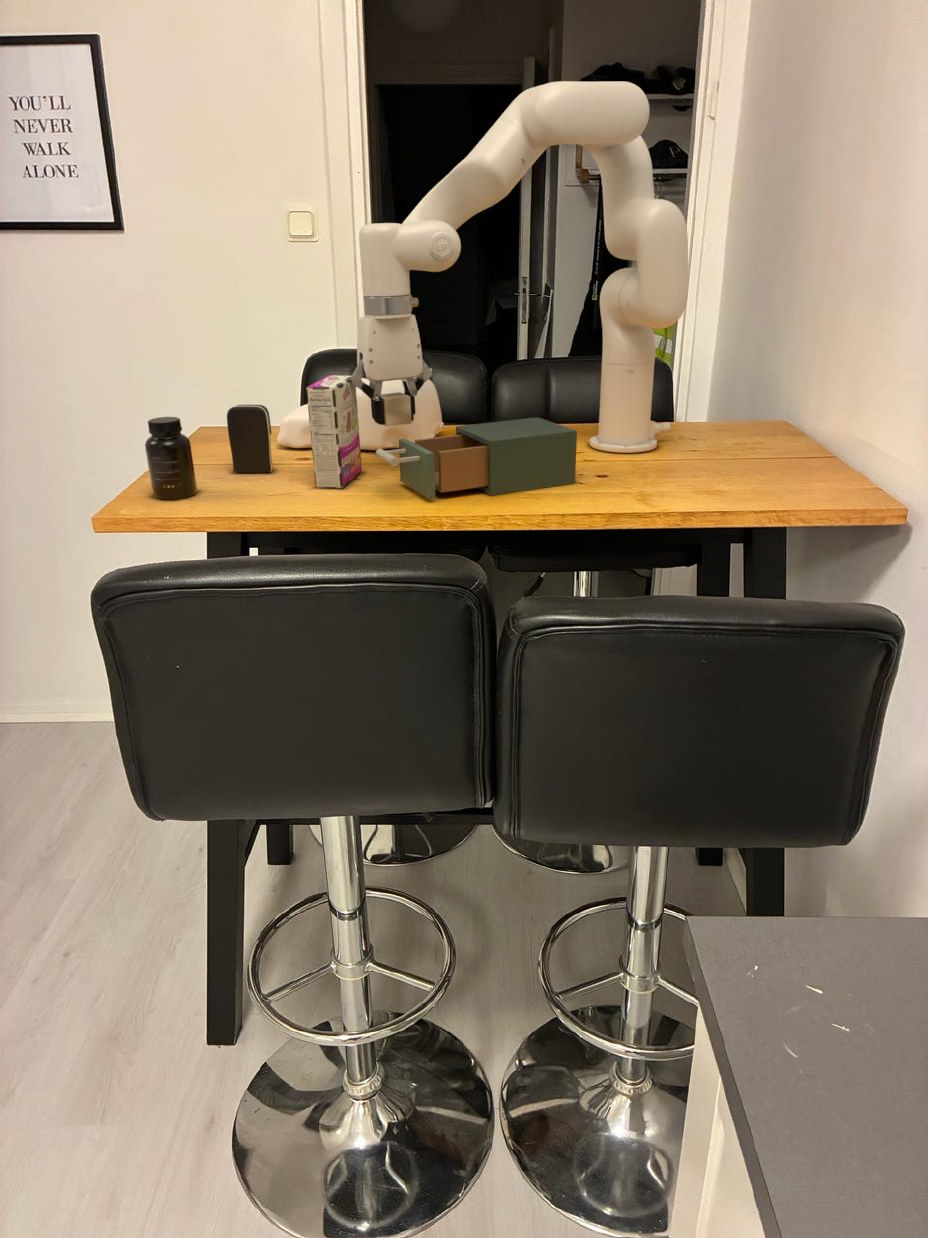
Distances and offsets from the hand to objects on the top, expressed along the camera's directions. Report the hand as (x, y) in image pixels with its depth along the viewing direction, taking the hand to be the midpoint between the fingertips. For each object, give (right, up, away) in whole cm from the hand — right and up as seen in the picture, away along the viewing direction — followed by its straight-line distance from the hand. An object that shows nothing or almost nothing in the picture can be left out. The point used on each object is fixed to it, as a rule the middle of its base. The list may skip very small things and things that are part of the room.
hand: (394, 420), depth 152 cm
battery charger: (-25, -8, +6) cm, 27 cm away
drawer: (+8, -12, -7) cm, 16 cm away
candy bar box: (-9, -10, 0) cm, 14 cm away
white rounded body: (-8, +1, +26) cm, 27 cm away
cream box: (0, 0, 0) cm, 0 cm away
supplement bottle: (-34, -14, -7) cm, 38 cm away
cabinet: (+20, -10, -2) cm, 23 cm away
